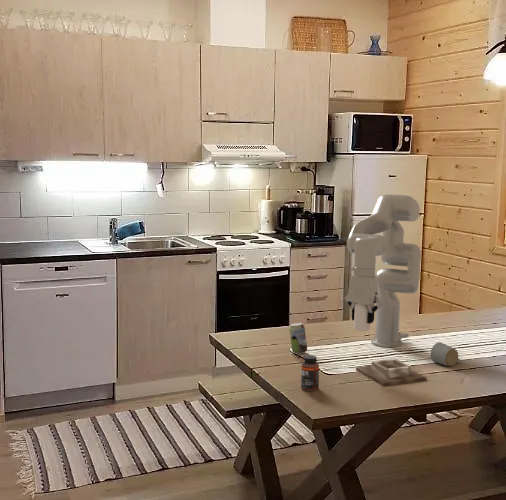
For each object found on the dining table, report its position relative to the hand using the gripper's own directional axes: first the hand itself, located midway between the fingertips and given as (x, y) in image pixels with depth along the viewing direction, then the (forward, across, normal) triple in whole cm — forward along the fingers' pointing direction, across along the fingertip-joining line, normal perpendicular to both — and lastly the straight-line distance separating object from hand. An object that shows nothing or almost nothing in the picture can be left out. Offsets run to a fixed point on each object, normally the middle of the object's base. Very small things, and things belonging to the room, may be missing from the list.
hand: (362, 320), depth 250 cm
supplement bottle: (+19, -4, -27) cm, 33 cm away
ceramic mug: (+20, +19, +31) cm, 41 cm away
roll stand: (+19, +10, +4) cm, 22 cm away
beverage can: (+20, -30, +3) cm, 36 cm away
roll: (+3, 0, 0) cm, 3 cm away
